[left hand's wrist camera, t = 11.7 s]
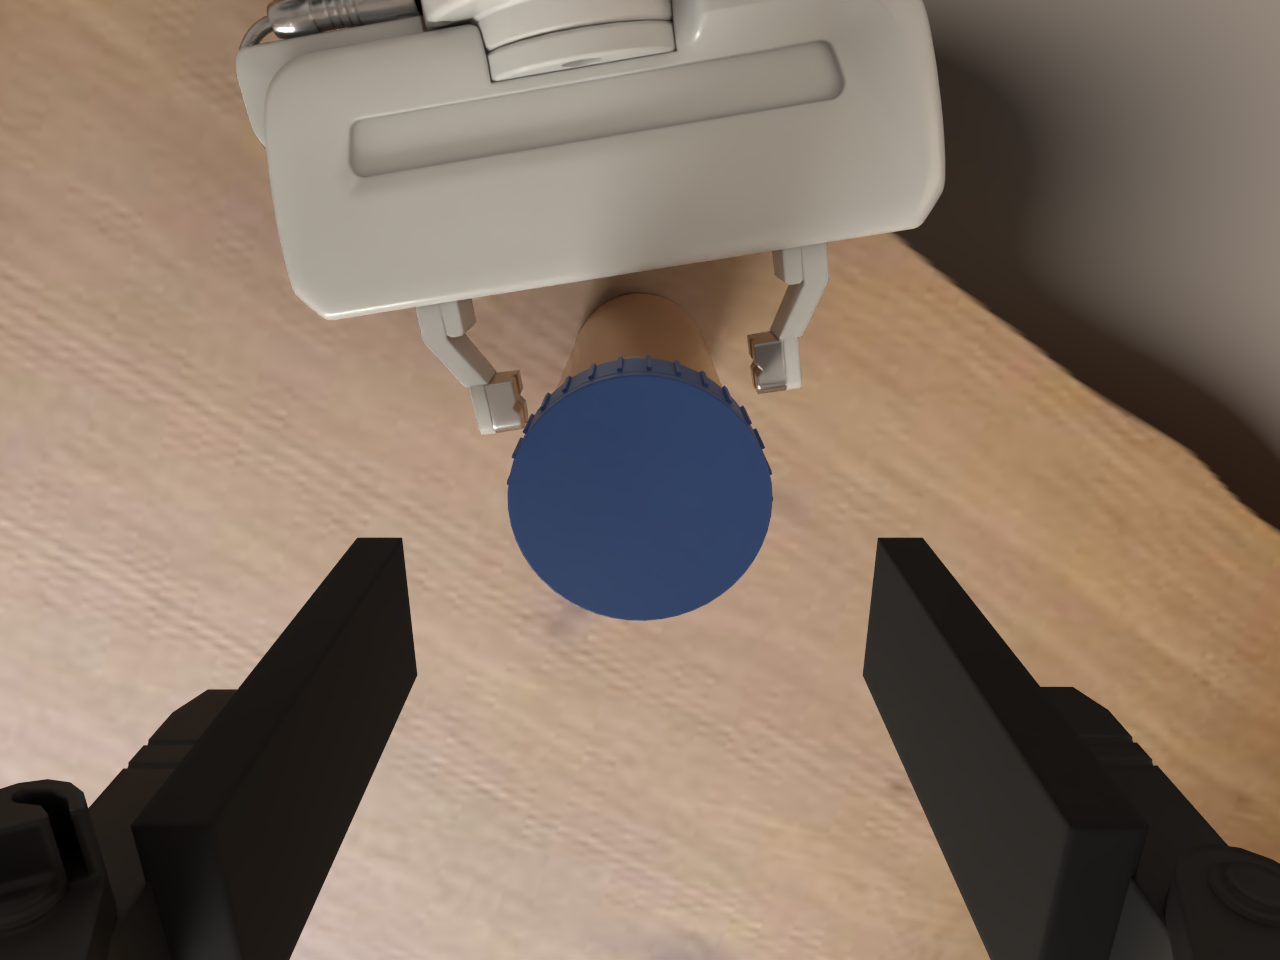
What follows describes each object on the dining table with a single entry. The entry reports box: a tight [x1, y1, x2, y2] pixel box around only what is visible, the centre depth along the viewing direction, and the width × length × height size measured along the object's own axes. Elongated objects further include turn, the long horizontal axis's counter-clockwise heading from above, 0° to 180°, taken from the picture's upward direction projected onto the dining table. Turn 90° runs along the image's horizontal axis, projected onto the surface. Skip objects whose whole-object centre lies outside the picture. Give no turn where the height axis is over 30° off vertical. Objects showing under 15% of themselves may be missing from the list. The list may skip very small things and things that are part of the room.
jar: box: [558, 293, 722, 388], centre depth 26 cm, size 6×6×16 cm
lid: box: [507, 355, 773, 621], centre depth 20 cm, size 6×6×2 cm
